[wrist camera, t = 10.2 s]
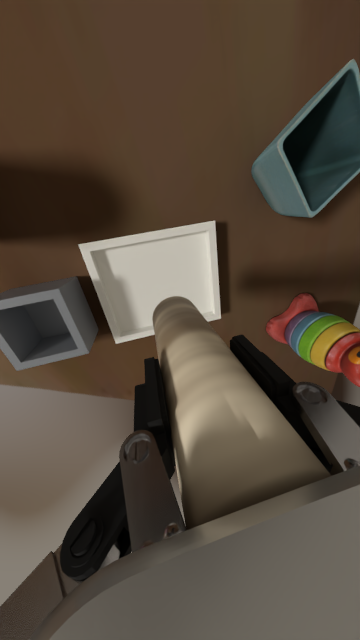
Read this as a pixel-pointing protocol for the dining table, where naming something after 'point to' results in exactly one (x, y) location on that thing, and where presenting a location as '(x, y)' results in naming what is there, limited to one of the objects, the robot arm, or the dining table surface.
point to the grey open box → (45, 323)
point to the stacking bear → (319, 337)
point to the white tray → (153, 275)
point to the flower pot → (314, 150)
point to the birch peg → (222, 422)
